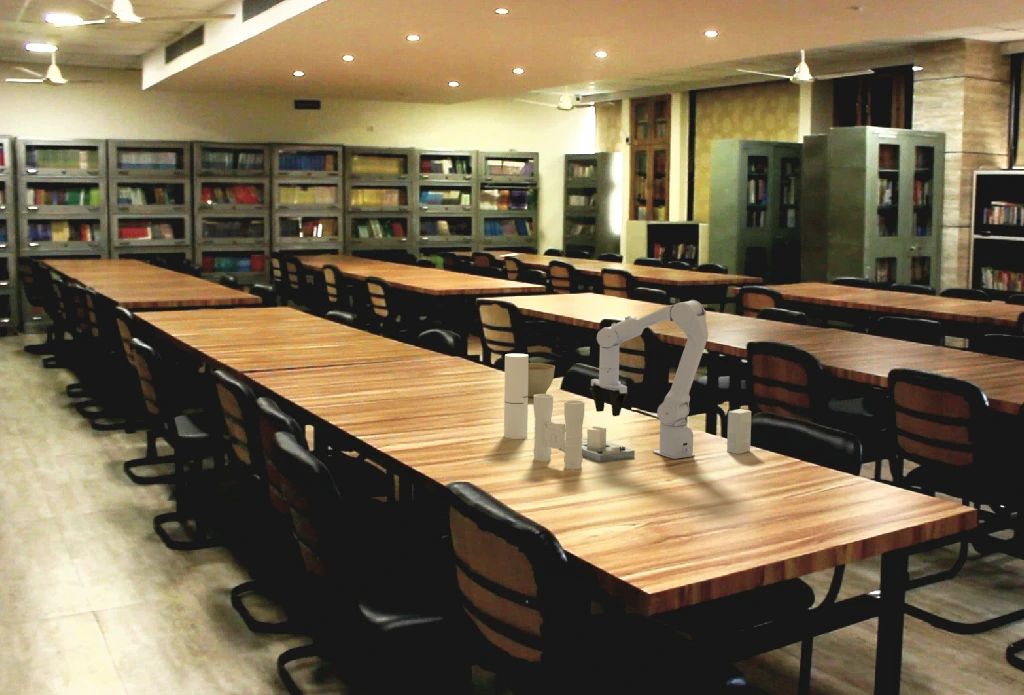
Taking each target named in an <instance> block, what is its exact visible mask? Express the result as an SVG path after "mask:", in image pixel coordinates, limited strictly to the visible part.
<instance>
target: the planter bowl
mask: <svg viewBox="0 0 1024 695" xmlns="http://www.w3.org/2000/svg"><path fill="white" fill-rule="evenodd" d="M555 368H556V366H555V365H553V364H549V363H538V362H537V363H536V362H535V363H534V362H528V398H534V395H536V394H547V392H548V390H549V389H550V387H551V386H552V383H553V380H554V377H555V370H556V369H555Z"/></svg>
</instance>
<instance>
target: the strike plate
mask: <svg viewBox="0 0 1024 695" xmlns="http://www.w3.org/2000/svg"><path fill="white" fill-rule="evenodd" d="M635 452H636V450H634V449H631V448H628V447H626V446H622V445H619V444H616V443H613V442H609V441H607V440H606V447H605V448H598V449H592V448H589V447H587V437H582V458H583V457H584V458H587V459H589V460H591V461H595V462H598V463H606V462H614V461H620V460H626V459H627V460H628V459H632V458H635V456H636V455H635Z"/></svg>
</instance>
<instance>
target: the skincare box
mask: <svg viewBox="0 0 1024 695" xmlns="http://www.w3.org/2000/svg"><path fill="white" fill-rule="evenodd" d="M727 412H728V414H727V443H726V453H730V452H732V453H731V454H735V453H736V454H737V455H741V454H744V453H747V451H748V452H750V451H751V436H752V435H751V433H752V432H751V430H752V411H751V410H747V409H743V408H739V409H737V408H736V409H733V410H729V411H727ZM736 454H735V455H736Z"/></svg>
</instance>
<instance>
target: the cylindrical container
mask: <svg viewBox="0 0 1024 695" xmlns="http://www.w3.org/2000/svg"><path fill="white" fill-rule="evenodd" d="M528 363H529V354H525V353H507V354H505V355H504V386H503V388H504V393H503V394H504V396H503V397H504V400H503V401H504V402H503V404H504V405H503V437H504V438H505V439H510V440H522V439H526V438H528V421H529V420H528V417H529V416H528V415H529V414H528V413H529V409H528V407H529V406H528V404H529V397H528Z"/></svg>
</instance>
